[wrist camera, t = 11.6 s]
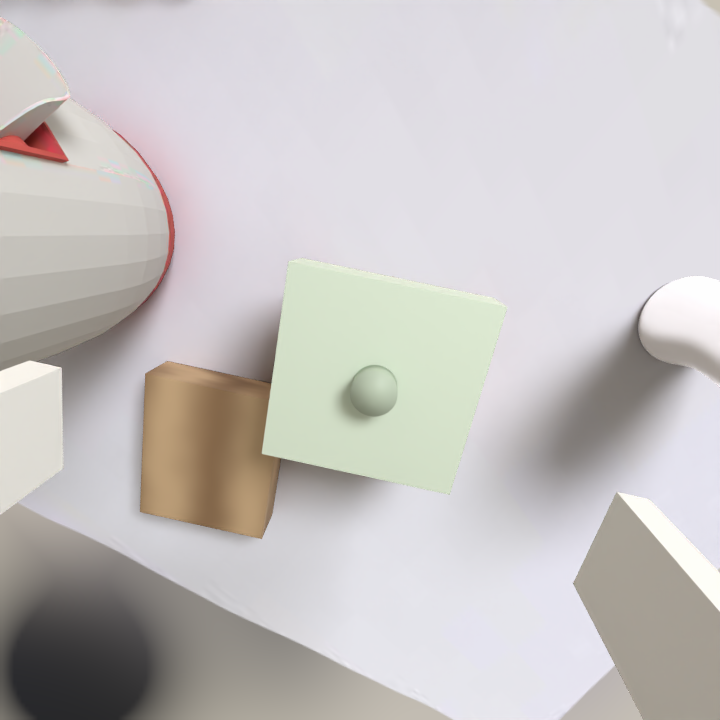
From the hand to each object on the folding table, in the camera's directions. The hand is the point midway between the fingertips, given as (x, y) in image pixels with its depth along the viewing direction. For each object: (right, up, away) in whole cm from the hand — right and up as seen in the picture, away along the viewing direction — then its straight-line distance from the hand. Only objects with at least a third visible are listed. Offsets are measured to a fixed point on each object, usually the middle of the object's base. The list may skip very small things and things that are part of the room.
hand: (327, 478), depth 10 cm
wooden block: (-11, -4, +24) cm, 27 cm away
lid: (+2, +2, +15) cm, 15 cm away
